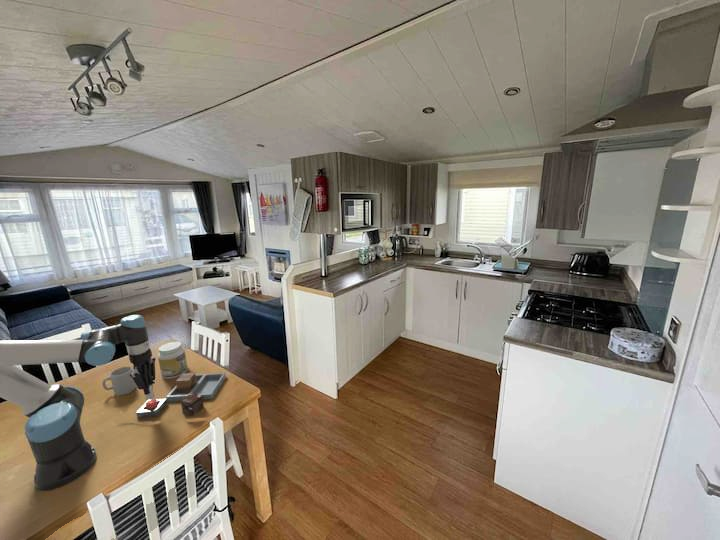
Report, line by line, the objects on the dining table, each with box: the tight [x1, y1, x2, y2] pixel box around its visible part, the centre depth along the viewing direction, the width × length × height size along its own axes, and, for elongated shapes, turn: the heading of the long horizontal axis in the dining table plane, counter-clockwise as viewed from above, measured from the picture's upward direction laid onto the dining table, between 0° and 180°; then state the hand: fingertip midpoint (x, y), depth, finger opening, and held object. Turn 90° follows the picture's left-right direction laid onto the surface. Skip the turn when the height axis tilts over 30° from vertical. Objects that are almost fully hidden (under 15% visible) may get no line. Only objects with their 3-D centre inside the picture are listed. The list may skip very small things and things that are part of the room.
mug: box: [101, 366, 137, 397], centre depth 137 cm, size 12×8×11 cm
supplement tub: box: [157, 341, 189, 380], centre depth 151 cm, size 12×12×17 cm
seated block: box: [175, 372, 197, 394], centre depth 137 cm, size 6×6×7 cm
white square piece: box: [135, 398, 168, 419], centre depth 124 cm, size 8×8×4 cm
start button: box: [145, 398, 158, 409], centre depth 123 cm, size 4×4×4 cm
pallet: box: [165, 372, 227, 403], centre depth 138 cm, size 17×21×4 cm
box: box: [180, 393, 205, 417], centre depth 124 cm, size 6×6×7 cm
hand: (150, 398), depth 122 cm, fingers closed
